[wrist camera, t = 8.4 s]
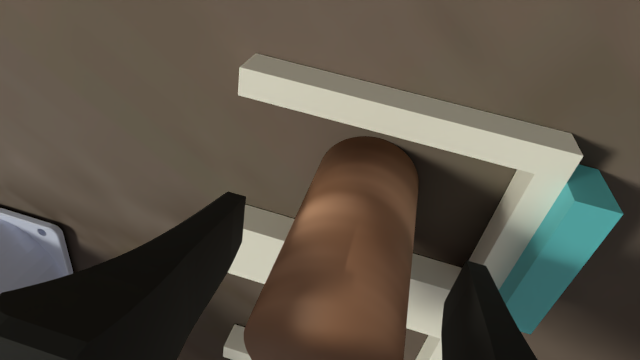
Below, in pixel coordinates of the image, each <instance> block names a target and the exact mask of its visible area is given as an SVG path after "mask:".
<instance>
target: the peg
mask: <svg viewBox="0 0 640 360" xmlns="http://www.w3.org/2000/svg"><path fill="white" fill-rule="evenodd" d="M418 188H419V178H418V173H417V170H416V167H415V165H414V164H413V162H412V160H411V159H410V158H409V156H408V155H407V154H406V153H405V152H404V151H403V150H401V149H400V148H399V147H397V146H396V145H394V144H392V143H390V142H388V141H386V140H383V139H380V138H375V137H366V136H365V137H353V138H349V139H346V140H343V141H341V142H339V143H337V144H336V145H334V146H333V147H332V148H331V149H329V151H328V152H327V153H326V154H325V156H324V157H323V159H322V161H321V163H320V165H319V168H318V170H317V172H316V174H315V176H314V178H313V181H312V183H311V185H310V187H309V189H308V191H307V194H306V196H305V198H304V200H303V202H302V205H301V207H300V209H299V211H298V213H297V215H296V218H295V220H294V222H293V224H292V226H291V228H290V231H289V233H288V235H287V237H286V239H285V241H284V244H283V246H282V248H281V250H280V252H279V254H278V257H277V259H276V261H275V263H274V265H273V267H272V270H271V272H270V274H269V276H268V278H267V280H266V283H265V285H264V287H263V289H262V291H261V293H260V296H259V298H258V300H257V302H256V304H255V307H254V309H253V311H252V313H251V315H250V317H249V320H248V322H247V324H246V326H245V329H244V343H245V347H246V350H247V352H248V354H249V356H250V358H251V359H252V360H403V358H404V347H405V335H406V324H407V312H408V301H409V290H410V278H411V267H412V256H413V244H414V233H415V222H416V210H417V199H418Z"/></svg>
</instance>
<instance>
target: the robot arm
mask: <svg viewBox="0 0 640 360" xmlns="http://www.w3.org/2000/svg"><path fill="white" fill-rule="evenodd" d="M245 201H246V197H245V196H242V195H238V194H235V193H231V192H227V193H225V194H223V195H222V196H220V197H219V198H218V199H216V200H215V201H213V202H212V203H210V204H209V205H208V206H206V207H205V208H203V209H202V210H200V211H199V212H197V213H196V214H194V215H193V216H191V217H190V218H188V219H187V220H185V221H183V222H182V223H180V224H179V225H177V226H175V227H174V228H172V229H170V230H169V231H167V232H165V233H163V234H162V235H160V236H158V237H157V238H155V239H153V240H151V241H149V242H147V243H145V244H143V245H141V246H140V247H138V248H135V249H133V250H131V251H129V252H127V253H125V254H123V255H120V256H118V257H116V258H113V259H111V260H108V261H106V262H103V263H100V264H98V265H95V266H93V267H90V268H88V269H85V270H82V271H79V272H76V273H73V269H72V266H71V262H70V258H69V254H68V250H67V246H66V242H65V238H64V235H63V232H62V230H61V229H60V228H59V227H58V226H57V225H54V224H51V223H48V222H45V221H42V220H39V219H35V218H32V217H29V216H26V215H22V214H19V213H16V212H13V211H10V210H6V209H3V208H0V360H177V358H178V356H179V354H180V352H181V350H182V348H183V346H184V344H185V342H186V340H187V338H188V336H189V334H190V332H191V330H192V328H193V327H194V325H195V323H196V322H197V320H198V318H199V317H200V315H201V314H202V312H203V310H204V309H205V307H206V306H207V304H208V303H209V301H210V299H211V298H212V296H213V295H214V293H215V291H216V290H217V288H218V287H219V285H220V284H221V282H222V280H223V279H224V277H225V275H226V274H227V272H228V271H229V269H230V267H231V265H232V263H233V261H234V259H235V257H236V254H237V252H238V250H239V248H240V246H241V243H242V237H243V225H244V213H245ZM441 341H442V360H537V358H536V357H535V355H534V353H533V352H532V350H531V349H530V347H529V345H528V344H527V342H526V340H525V339H524V337H523V335H522V334H521V332H520V330H519V328H518V326H517V325H516V323H515V321H514V319H513V317H512V316H511V314H510V312H509V310H508V308H507V306H506V304H505V302H504V300H503V298H502V296H501V294H500V292H499V290H498V288H497V286H496V284H495V282H494V280H493V278H492V276H491V274H490V272H489V270H488V268H487V266H485V265H481V264H478V263H474V262H471V261H468V260H466V262H465V264H464V266H463V268H462V269H461V271H460V273H459V275H458V277H457V279H456V281H455V283H454V285H453V286H452V288H451V290H450V292H449V294H448V296H447V298H446V300H445V302H444V308H443V318H442V330H441Z"/></svg>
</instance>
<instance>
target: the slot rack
mask: <svg viewBox="0 0 640 360" xmlns="http://www.w3.org/2000/svg"><path fill="white" fill-rule="evenodd" d="M238 95H240V96H243V97H247V98H251V99H255V100H258V101H262V102H266V103H270V104H273V105H277V106H281V107H285V108H288V109H292V110H296V111H300V112H304V113H307V114H311V115H315V116H319V117H322V118H326V119H330V120H334V121H337V122H341V123H345V124H349V125H352V126H356V127H360V128H364V129H368V130H371V131H375V132H379V133H383V134H386V135H390V136H394V137H398V138H401V139H405V140H409V141H413V142H416V143H420V144H424V145H428V146H431V147H435V148H439V149H443V150H447V151H450V152H454V153H458V154H462V155H465V156H469V157H473V158H477V159H480V160H484V161H488V162H492V163H495V164H499V165H503V166H507V167H510V168H514V169H517V171H516V173H515V175H514V177H513V178H512V180H511V182H510V184H509V186H508V188H507V190H506V192H505V193H504V195H503V197H502V199H501V201H500V203H499V205H498V207H497V208H496V210H495V212H494V214H493V216H492V218H491V220H490V221H489V223H488V225H487V227H486V229H485V231H484V233H483V235H482V236H481V238H480V240H479V242H478V244H477V246H476V248H475V250H474V251H473V253H472V255H471V257H470V259H469V261H471V262H474V263H478V264H481V265H485V266H487V268H488V270H489V272H490V274H491V276H492V278H493V280H494V282H495V284H496V286H497V288H498V290H499V292H500V294H501V296H502V298H503V300H504V302H505V304H506V306H507V308H508V310H509V312H510V314H511V316H512V317H513V319H514V321H515V323H516V325H517V326H518V328H519V330H520V331H521V332H524V333H527V334H531V333H532V332H533V331H534V329H535V328H536V327H537V326H538V324H539V323H540V322H541V320H542V319H543V318H544V316H545V315H546V314H547V313H548V311H549V310H550V309H551V307H552V306H553V305H554V304H555V302H556V301H557V300H558V298H559V297H560V296H561V294H562V293H563V292H564V291H565V289H566V288H567V287H568V285H569V284H570V283H571V282H572V280H573V279H574V278H575V276H576V275H577V274H578V272H579V271H580V270H581V269H582V267H583V266H584V265H585V263H586V262H587V261H588V259H589V258H590V257H591V256H592V254H593V253H594V252H595V250H596V249H597V248H598V247H599V245H600V244H601V243H602V241H603V240H604V239H605V237H606V236H607V235H608V234H609V232H610V231H611V230H612V228H613V227H614V226H615V225H616V223H617V222H618V221H619V219H620V218H621V217H622V215H623V212H622V210H621V209H620V207H619V205H618V203H617V202H616V200H615V198H614V196H613V195H612V193H611V191H610V189H609V187H608V186H607V184H606V182H605V180H604V179H603V177H602V175H601V173H600V171H599V170H598V169H595V168H591V167H587V166H583V165H579V162H580V161H581V159H582V158H583V154H582V152H581V150H580V149H579V147H578V145H577V143H576V141H575V139H574V137H573V135H572V134H571V133H568V132H564V131H560V130H556V129H552V128H548V127H544V126H540V125H536V124H532V123H528V122H524V121H520V120H517V119H513V118H509V117H505V116H501V115H497V114H493V113H489V112H485V111H481V110H477V109H473V108H469V107H465V106H461V105H458V104H454V103H450V102H446V101H442V100H438V99H434V98H430V97H426V96H422V95H418V94H414V93H410V92H406V91H403V90H399V89H395V88H391V87H387V86H383V85H379V84H375V83H371V82H367V81H363V80H359V79H355V78H351V77H347V76H344V75H340V74H336V73H332V72H328V71H324V70H320V69H316V68H312V67H308V66H304V65H300V64H296V63H292V62H288V61H285V60H281V59H277V58H273V57H269V56H265V55H261V54H257V53H256V54H254V55H253V56H252V57H251V58H250V59H249V60H247V61H246V62H245V63H244V64H243V65H241V66H240V68H239V86H238ZM294 220H295V219H293V218H290V217H286V216H283V215H280V214H276V213H273V212H269V211H266V210H262V209H259V208H256V207H252V206H249V205H245V213H244V225H243V237H242V243H241V246H240V248H239V250H238V252H237V254H236V257H235V259H234V261H233V263H232V265H231V267H230V269H229V271H228V273H230V274H234V275H237V276H240V277H243V278H247V279H250V280H253V281H256V282H259V283H263V284H265V283H266V280H267V278H268V276H269V274H270V272H271V270H272V267H273V265H274V263H275V261H276V259H277V257H278V254H279V252H280V250H281V248H282V246H283V244H284V241H285V239H286V237H287V235H288V233H289V231H290V228H291V226H292V224H293V222H294ZM461 269H462V268H461V267H458V266H454V265H451V264H447V263H444V262H440V261H437V260H434V259H430V258H427V257H423V256H420V255H416V254H413V256H412V267H411V278H410V290H409V301H408V312H407V324H406V328H408V329H411V330H414V331H417V332H421V333H424V334H427V335H429V336H428V337H427V339H426V341H425V343H424V345H423V347H422V349H421V350H420V352H419V354H418V356H417V358H416V360H442V341H441V330H442V318H443V308H444V302H445V300H446V298H447V296H448V294H449V292H450V290H451V288H452V286H453V285H454V283H455V281H456V279H457V277H458V275H459V273H460V271H461ZM244 329H245V327H242V326H239V325H236V324H234V326H233V328H232V330H231V332H230V334H229V337H228V339H227V341H226V343H225V345H224V349H223V357H225V358H228V359H231V360H252V359H251V358H250V356H249V354H248V352H247V350H246V347H245V343H244Z"/></svg>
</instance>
